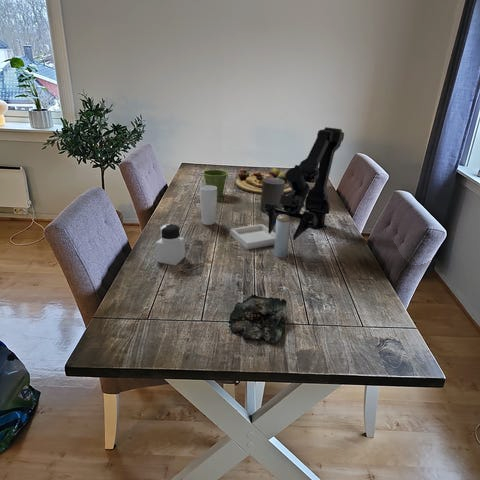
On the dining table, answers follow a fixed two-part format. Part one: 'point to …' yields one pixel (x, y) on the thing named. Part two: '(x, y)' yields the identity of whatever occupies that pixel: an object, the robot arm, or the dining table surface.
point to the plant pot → (216, 179)
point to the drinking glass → (208, 204)
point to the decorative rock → (259, 318)
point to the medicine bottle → (170, 245)
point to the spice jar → (282, 236)
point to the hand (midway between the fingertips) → (281, 236)
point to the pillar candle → (272, 192)
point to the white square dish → (253, 236)
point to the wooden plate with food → (259, 180)
